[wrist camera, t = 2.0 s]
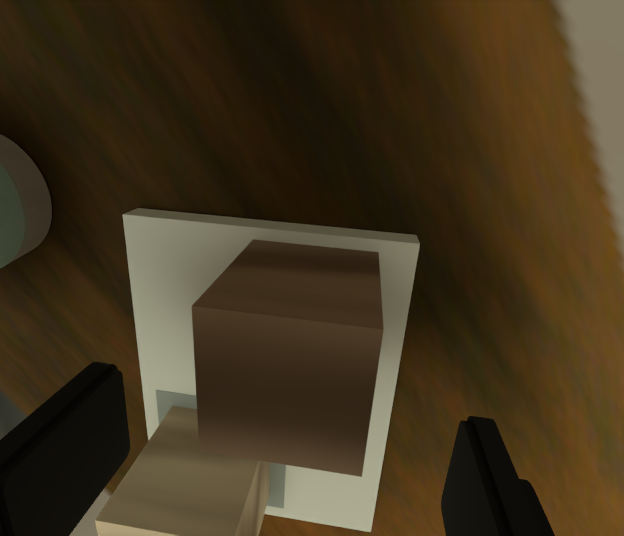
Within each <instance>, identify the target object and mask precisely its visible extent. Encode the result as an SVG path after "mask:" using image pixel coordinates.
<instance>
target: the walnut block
mask: <svg viewBox="0 0 624 536" xmlns="http://www.w3.org/2000/svg"><path fill="white" fill-rule="evenodd" d="M191 308H192V326H193V344H194V363H195V381H196V400H197V418H198V436H199V451H202V452H209V453H215V454H221V455H227V456H234V457H240V458H246V459H253V460H259V461H265V462H271V463H278V464H284V465H290V466H296V467H303V468H309V469H315V470H322V471H328V472H334V473H340V474H347V475H353V476H359V477H362V473H363V466H364V459H365V452H366V446H367V439H368V432H369V425H370V418H371V412H372V405H373V398H374V391H375V385H376V378H377V371H378V364H379V357H380V351H381V344H382V337H383V330H384V328H383V312H382V297H381V282H380V266H379V252H371V251H362V250H352V249H342V248H332V247H323V246H313V245H303V244H293V243H283V242H274V241H264V240H254V239H253V240H252V241H251V242H250V243H249V244H248V245H247V247H246V248H245V249H244V250H243V251H242V252H241V253H240V254H239V255H238V256H237V257H236V258H235V260H234V261H233V262H232V263H231V264H230V265H229V266H228V267H227V268H226V269H225V270H224V271H223V273H222V274H221V275H220V276H219V277H218V278H217V279H216V280H215V281H214V282H213V283H212V284H211V286H210V287H209V288H208V289H207V290H206V291H205V292H204V293H203V294H202V295H201V296H200V297H199V299H198V300H197V301H196V302H195V303H194V304H193V305H192V306H191Z"/></svg>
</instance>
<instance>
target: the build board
mask: <svg viewBox="0 0 624 536" xmlns="http://www.w3.org/2000/svg"><path fill="white" fill-rule="evenodd" d="M123 223H124V231H125V240H126V249H127V258H128V266H129V275H130V284H131V292H132V301H133V310H134V319H135V327H136V336H137V345H138V354H139V362H140V371H141V380H142V388H143V397H144V406H145V415H146V423H147V432H148V441H149V440H150V438H151V437H152V435H153V434H154V432H155V431H156V429H157V428H158V426H159V425H160V423H161V422H162V420H163V419H164V417H165V416H166V414H167V413H168V411H169V410H170V408H171V407H172V406H177V407H184V408H191V409H197V400H196V381H195V363H194V344H193V326H192V308H191V306H192V305H193V304H194V303H195V302H196V301H197V300H198V299H199V297H200V296H201V295H202V294H203V293H204V292H205V291H206V290H207V289H208V288H209V287H210V286H211V284H212V283H213V282H214V281H215V280H216V279H217V278H218V277H219V276H220V275H221V274H222V273H223V271H224V270H225V269H226V268H227V267H228V266H229V265H230V264H231V263H232V262H233V261H234V260H235V258H236V257H237V256H238V255H239V254H240V253H241V252H242V251H243V250H244V249H245V248H246V247H247V245H248V244H249V243H250V242H251V241H252V240H253V239H254V240H264V241H274V242H283V243H293V244H303V245H313V246H323V247H332V248H342V249H352V250H362V251H371V252H379V266H380V282H381V297H382V312H383V328H384V330H383V337H382V344H381V351H380V357H379V364H378V371H377V378H376V385H375V391H374V398H373V405H372V412H371V418H370V425H369V432H368V439H367V446H366V452H365V459H364V466H363V473H362V477H359V476H353V475H347V474H340V473H334V472H328V471H322V470H315V469H309V468H303V467H296V466H290V465H284V464H278V463H271V462H270V486H269V498H268V502H267V506H266V509H265V513H264V514H269V515H274V516H280V517H286V518H292V519H298V520H303V521H309V522H315V523H321V524H326V525H332V526H338V527H344V528H350V529H355V530H361V531H367V532H371V528H372V522H373V516H374V510H375V504H376V499H377V493H378V487H379V481H380V475H381V469H382V463H383V458H384V452H385V446H386V440H387V434H388V428H389V422H390V417H391V411H392V405H393V399H394V393H395V387H396V381H397V376H398V370H399V364H400V358H401V352H402V346H403V340H404V334H405V329H406V323H407V317H408V311H409V305H410V299H411V293H412V288H413V282H414V276H415V270H416V264H417V258H418V252H419V247H420V243H419V240H418V238H417V235H411V234H401V233H391V232H381V231H370V230H360V229H350V228H339V227H329V226H319V225H308V224H298V223H288V222H277V221H267V220H257V219H246V218H236V217H226V216H216V215H205V214H195V213H185V212H174V211H164V210H154V209H143V208H137V209H135V210H132V211H130V212H127V213H125V214H123Z"/></svg>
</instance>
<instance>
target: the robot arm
mask: <svg viewBox="0 0 624 536" xmlns="http://www.w3.org/2000/svg"><path fill="white" fill-rule="evenodd" d="M129 450H130V439H129V430H128V422H127V413H126V404H125V395H124V386H123V377H122V373H121V371H118V369H117V367H116V365H113V364H107V363H100V362H93V363H91V364H90V365H88V366H87V367H86V368H85V369H84V370H82V371H81V372H80V373H79V374H78V375H77V376H75V377H74V378H73V379H72V380H71V381H69V382H68V383H67V384H66V385H65V386H64V387H62V388H61V389H60V390H59V391H58V392H56V393H55V394H54V395H53V396H52V397H51V398H49V399H48V400H47V401H46V402H45V403H43V404H42V405H41V406H40V407H39V408H37V409H36V410H35V411H34V412H33V413H32V414H30V415H29V416H28V417H27V418H26V419H24V420H23V421H22V422H21V423H20V424H19V425H17V426H16V427H15V428H14V429H13V430H12V431H10V432H9V433H8V434H7V435H6V436H4V437H3V438H2V439H1V440H0V536H69V535H70V534H71V532H72V531H73V530H74V528H75V527H76V526H77V524H78V523H79V521H80V520H81V519H82V517H83V516H84V514H85V513H86V512H87V511H88V509H89V508H90V507H91V505H92V504H93V502H94V501H95V500H96V498H97V497H98V496H99V494H100V493H101V492H102V490H103V489H104V488H105V486H106V485H107V484H108V482H109V481H110V479H111V478H112V477H113V475H114V474H115V473H116V471H117V470H118V469H119V467H120V466H121V465H122V463H123V462H124V461H125V459H126V457H127V455H128V453H129ZM441 509H442V516H443V522H444V527H445V532H446V536H555V535H554V533H553V530H552V528H551V526H550V524H549V521H548V519H547V517H546V515H545V513H544V510H543V508H542V506H541V504H540V502H539V499H538V497H537V495H536V493H535V490H534V488H533V487H532V485H531V483H530V482H528V481H527V480H523V479H519V478H518V475H517V473H516V471H515V468H514V466H513V464H512V461H511V459H510V456H509V454H508V452H507V449H506V447H505V445H504V442H503V440H502V437H501V435H500V433H499V430H498V428H497V426H496V423H495V421H494V420H493V419H489V418H482V417H475V416H469V417H468V419H467V421H460V424H459V427H458V432H457V436H456V440H455V444H454V448H453V452H452V457H451V461H450V465H449V469H448V473H447V478H446V482H445V486H444V490H443V494H442V501H441Z"/></svg>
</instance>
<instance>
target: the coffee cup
mask: <svg viewBox="0 0 624 536" xmlns="http://www.w3.org/2000/svg"><path fill="white" fill-rule="evenodd" d="M51 219H52V204H51V198H50V194H49V190H48V188H47V185H46V182H45V180H44V178H43V176H42V174H41V172H40V171H39V169H38V168H37V166H36V165H35V163H34V162H33V161H32V159H31V158H30V157H29V156H28V155H27V154H26V153H25V152H24V151H23V150H22V149H21V148H20V147H19V146H18V145H17V144H15V143H14V142H13V141H11V140H10V139H8V138H7V137H5V136H3V135H1V134H0V269H1V268H2V267H4V266H6V265H7V264H9V263H11V262H12V261H14V260H16V259H17V258H19V257H21V256H23V255H24V254H26V253H28V252H29V251H31V250H33V249H34V248H36V247H37V246H38V245H39V244H40V243H41V242H42V241H43V240H44V238H45V237H46V235H47V233H48V231H49V228H50V225H51Z"/></svg>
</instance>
